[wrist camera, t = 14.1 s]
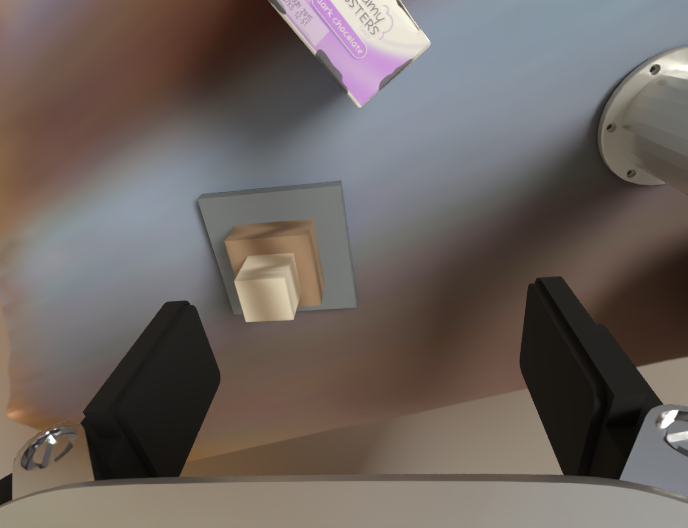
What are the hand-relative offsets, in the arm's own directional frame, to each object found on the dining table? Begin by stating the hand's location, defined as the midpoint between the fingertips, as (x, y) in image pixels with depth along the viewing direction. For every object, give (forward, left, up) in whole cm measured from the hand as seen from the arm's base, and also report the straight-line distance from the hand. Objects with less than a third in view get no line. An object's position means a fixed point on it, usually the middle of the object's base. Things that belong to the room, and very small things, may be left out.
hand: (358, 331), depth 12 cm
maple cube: (+12, +15, -29) cm, 35 cm away
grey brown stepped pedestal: (+12, +15, -34) cm, 39 cm away
